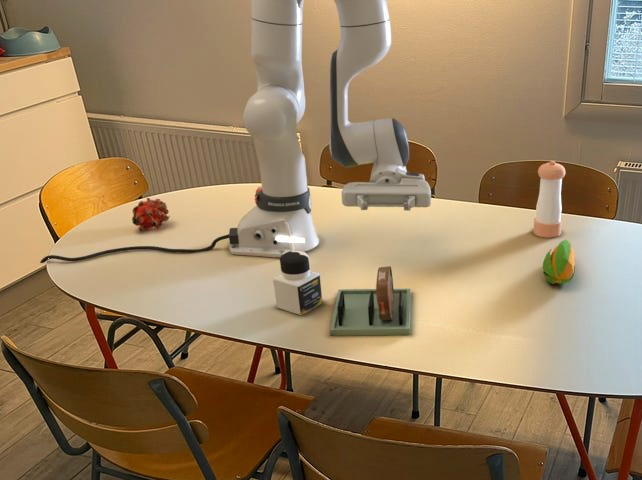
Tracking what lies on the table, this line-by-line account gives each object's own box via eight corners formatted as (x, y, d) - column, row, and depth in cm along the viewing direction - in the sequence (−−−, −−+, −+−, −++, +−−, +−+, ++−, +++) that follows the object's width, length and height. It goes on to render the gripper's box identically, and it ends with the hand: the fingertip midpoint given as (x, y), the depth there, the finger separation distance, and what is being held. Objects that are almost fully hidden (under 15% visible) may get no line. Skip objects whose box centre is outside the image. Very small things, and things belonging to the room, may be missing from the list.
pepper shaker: (565, 231, 199) (571, 160, 189) (553, 239, 193) (559, 167, 183) (540, 225, 202) (545, 155, 192) (528, 234, 197) (533, 162, 187)
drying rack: (330, 335, 149) (328, 314, 147) (338, 294, 165) (337, 274, 163) (409, 334, 150) (408, 313, 147) (410, 294, 166) (410, 273, 163)
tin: (392, 327, 151) (390, 290, 147) (376, 327, 151) (374, 290, 147) (394, 294, 164) (393, 259, 160) (380, 294, 164) (378, 259, 160)
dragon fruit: (173, 225, 206) (143, 246, 197) (149, 205, 205) (117, 225, 197) (180, 205, 199) (149, 226, 191) (155, 185, 199) (123, 205, 190)
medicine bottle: (301, 316, 157) (295, 263, 150) (276, 308, 160) (269, 256, 154) (323, 303, 162) (318, 252, 156) (298, 295, 165) (292, 245, 159)
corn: (542, 258, 164) (551, 226, 180) (537, 289, 168) (546, 255, 184) (575, 263, 162) (581, 230, 179) (570, 294, 167) (576, 259, 183)
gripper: (342, 173, 172) (337, 192, 160) (430, 174, 173) (431, 193, 161) (344, 199, 176) (338, 220, 164) (430, 200, 176) (431, 221, 165)
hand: (385, 207), depth 162 cm, fingers open, 8 cm apart
